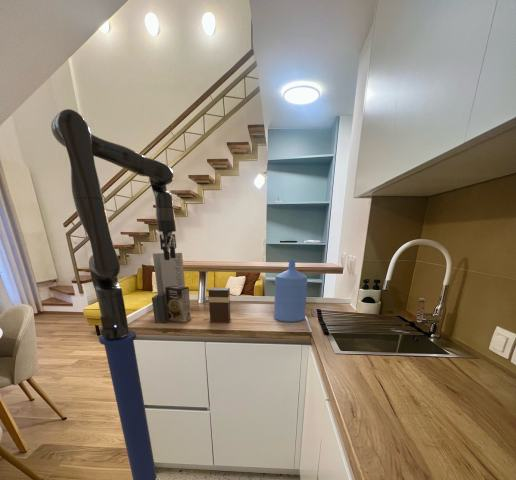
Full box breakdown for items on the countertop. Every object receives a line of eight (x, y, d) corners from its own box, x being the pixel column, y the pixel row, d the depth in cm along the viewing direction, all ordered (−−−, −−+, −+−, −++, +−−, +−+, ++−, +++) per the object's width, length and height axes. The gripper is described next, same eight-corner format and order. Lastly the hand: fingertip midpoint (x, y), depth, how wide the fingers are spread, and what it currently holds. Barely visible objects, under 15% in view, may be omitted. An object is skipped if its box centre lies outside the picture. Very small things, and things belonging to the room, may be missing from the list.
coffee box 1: (168, 320, 136) (164, 287, 130) (176, 317, 141) (173, 285, 135) (183, 322, 133) (180, 288, 127) (191, 319, 138) (189, 286, 132)
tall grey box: (166, 313, 147) (159, 254, 136) (159, 312, 150) (152, 253, 139) (186, 308, 158) (182, 252, 147) (180, 306, 161) (174, 252, 150)
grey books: (165, 323, 132) (161, 295, 127) (154, 322, 132) (151, 295, 127) (172, 316, 142) (169, 291, 137) (163, 316, 142) (159, 290, 138)
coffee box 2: (228, 322, 133) (227, 290, 128) (210, 322, 134) (208, 290, 128) (230, 319, 139) (229, 287, 133) (212, 318, 139) (210, 287, 133)
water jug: (310, 320, 137) (315, 261, 127) (281, 323, 132) (283, 262, 122) (296, 312, 151) (299, 259, 140) (269, 315, 146) (270, 259, 136)
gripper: (162, 220, 126) (167, 257, 132) (151, 218, 113) (156, 260, 119) (179, 220, 126) (182, 257, 132) (169, 219, 113) (173, 260, 119)
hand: (170, 259), depth 125 cm, fingers open, 8 cm apart
